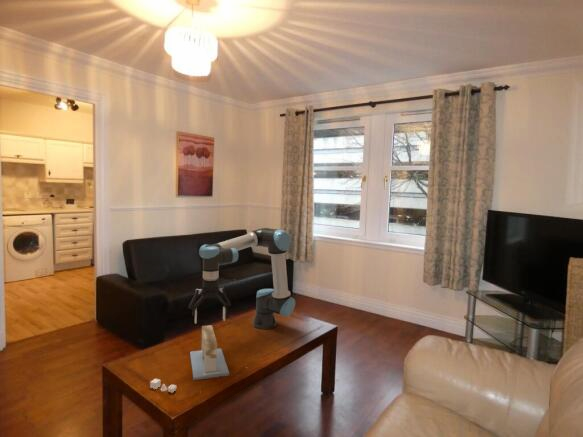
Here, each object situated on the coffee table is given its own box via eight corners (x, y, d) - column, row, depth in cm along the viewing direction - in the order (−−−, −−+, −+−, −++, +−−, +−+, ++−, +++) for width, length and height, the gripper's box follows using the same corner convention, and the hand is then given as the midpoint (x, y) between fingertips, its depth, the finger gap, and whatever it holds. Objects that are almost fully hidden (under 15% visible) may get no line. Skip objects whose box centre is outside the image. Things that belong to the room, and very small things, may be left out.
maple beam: (211, 338, 182) (211, 325, 181) (216, 357, 161) (217, 343, 160) (201, 339, 180) (201, 326, 179) (205, 359, 159) (206, 344, 159)
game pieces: (149, 389, 149) (149, 381, 148) (155, 385, 152) (155, 378, 151) (172, 395, 145) (172, 387, 144) (177, 391, 148) (177, 383, 147)
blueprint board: (220, 350, 186) (221, 335, 185) (228, 375, 161) (229, 358, 161) (190, 353, 180) (190, 338, 180) (193, 380, 156) (193, 362, 155)
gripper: (184, 282, 160) (183, 326, 162) (237, 279, 168) (236, 321, 170) (183, 278, 167) (183, 320, 169) (234, 275, 175) (234, 316, 177)
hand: (209, 321), depth 169 cm, fingers open, 13 cm apart
